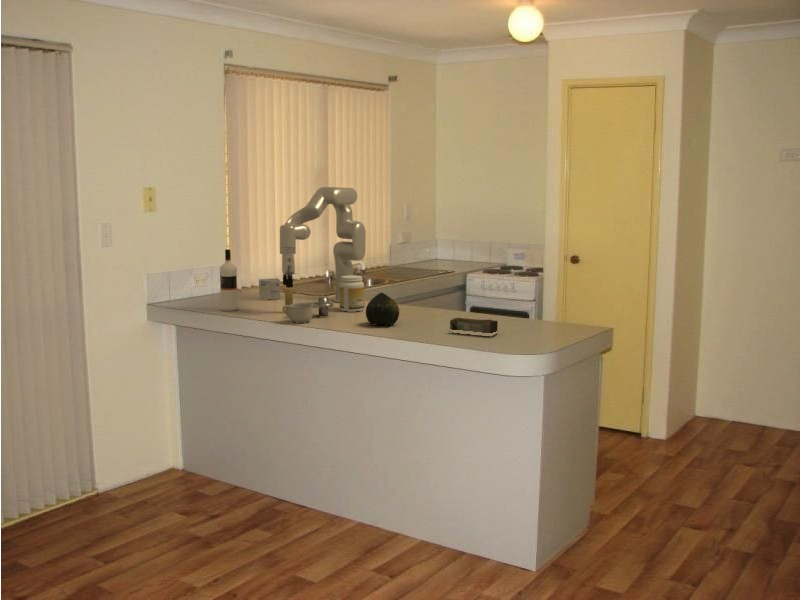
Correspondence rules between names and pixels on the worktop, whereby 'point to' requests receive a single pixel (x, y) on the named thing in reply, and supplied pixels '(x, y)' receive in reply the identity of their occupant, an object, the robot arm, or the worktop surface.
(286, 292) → the wedge pin
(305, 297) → the worktop surface
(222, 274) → the vodka
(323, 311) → the grey knob latch
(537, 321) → the worktop surface
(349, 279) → the supplement tub
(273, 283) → the light bulb box
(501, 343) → the worktop surface
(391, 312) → the squash
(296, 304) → the teacup
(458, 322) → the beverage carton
